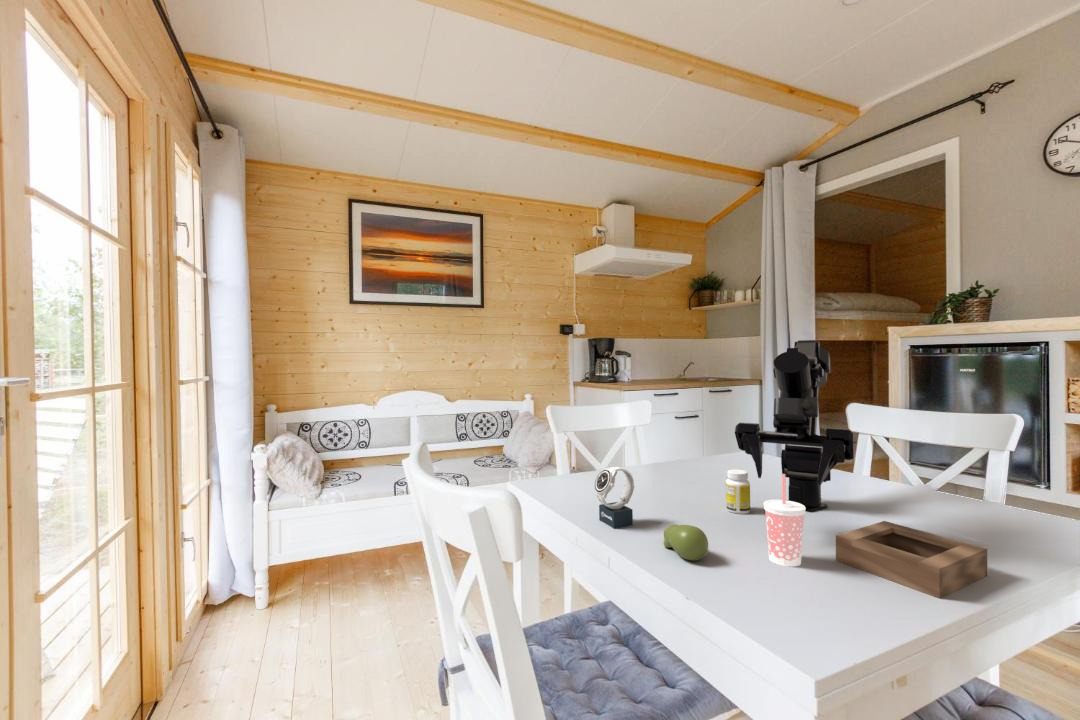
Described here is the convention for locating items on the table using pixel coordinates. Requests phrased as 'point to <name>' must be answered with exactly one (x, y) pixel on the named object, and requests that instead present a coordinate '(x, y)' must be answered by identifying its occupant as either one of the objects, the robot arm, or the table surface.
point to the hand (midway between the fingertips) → (788, 480)
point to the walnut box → (912, 557)
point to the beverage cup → (784, 529)
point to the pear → (686, 541)
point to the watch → (616, 511)
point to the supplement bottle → (738, 492)
